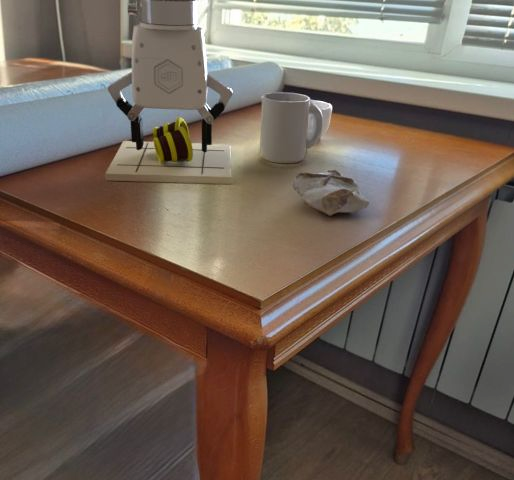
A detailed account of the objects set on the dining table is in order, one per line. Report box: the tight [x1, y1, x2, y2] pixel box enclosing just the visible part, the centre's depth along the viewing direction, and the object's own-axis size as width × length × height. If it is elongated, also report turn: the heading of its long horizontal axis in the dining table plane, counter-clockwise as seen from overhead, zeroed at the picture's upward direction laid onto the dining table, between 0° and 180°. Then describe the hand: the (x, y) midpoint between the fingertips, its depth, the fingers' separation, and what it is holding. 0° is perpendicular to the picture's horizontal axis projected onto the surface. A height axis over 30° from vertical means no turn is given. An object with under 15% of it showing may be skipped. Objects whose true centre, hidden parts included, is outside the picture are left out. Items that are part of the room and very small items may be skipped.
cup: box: [259, 91, 323, 164], centre depth 94 cm, size 7×10×9 cm
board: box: [104, 140, 232, 185], centre depth 90 cm, size 17×17×1 cm
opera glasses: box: [152, 117, 193, 163], centre depth 88 cm, size 10×5×5 cm, turn 9°
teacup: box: [307, 99, 333, 138], centre depth 105 cm, size 10×8×5 cm
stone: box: [291, 169, 370, 217], centre depth 78 cm, size 12×9×3 cm
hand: (172, 148), depth 89 cm, fingers open, 9 cm apart
